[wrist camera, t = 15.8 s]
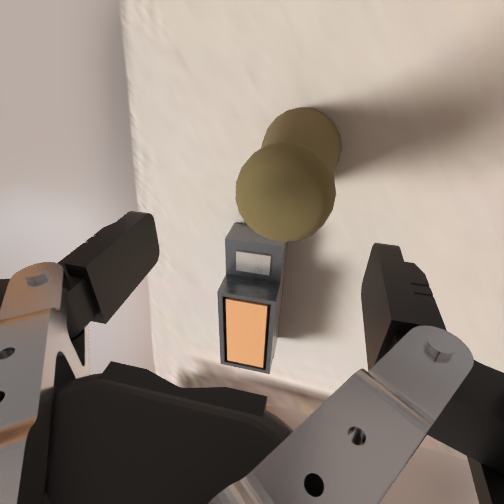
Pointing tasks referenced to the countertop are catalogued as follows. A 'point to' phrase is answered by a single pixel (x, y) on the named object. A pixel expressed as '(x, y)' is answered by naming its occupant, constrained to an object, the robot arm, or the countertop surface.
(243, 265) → the grey slotted housing
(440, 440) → the robot arm
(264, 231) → the cork
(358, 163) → the countertop surface
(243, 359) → the orange button
